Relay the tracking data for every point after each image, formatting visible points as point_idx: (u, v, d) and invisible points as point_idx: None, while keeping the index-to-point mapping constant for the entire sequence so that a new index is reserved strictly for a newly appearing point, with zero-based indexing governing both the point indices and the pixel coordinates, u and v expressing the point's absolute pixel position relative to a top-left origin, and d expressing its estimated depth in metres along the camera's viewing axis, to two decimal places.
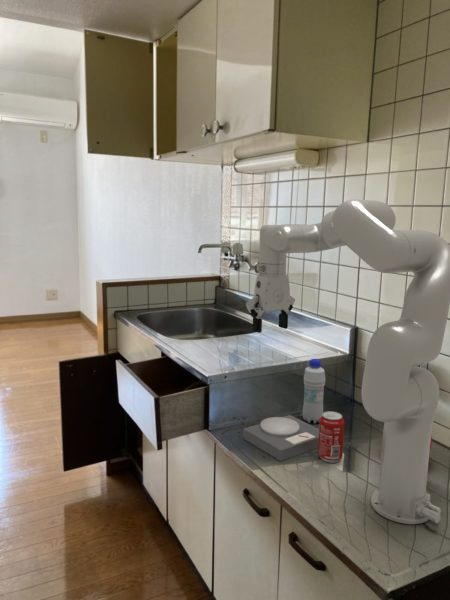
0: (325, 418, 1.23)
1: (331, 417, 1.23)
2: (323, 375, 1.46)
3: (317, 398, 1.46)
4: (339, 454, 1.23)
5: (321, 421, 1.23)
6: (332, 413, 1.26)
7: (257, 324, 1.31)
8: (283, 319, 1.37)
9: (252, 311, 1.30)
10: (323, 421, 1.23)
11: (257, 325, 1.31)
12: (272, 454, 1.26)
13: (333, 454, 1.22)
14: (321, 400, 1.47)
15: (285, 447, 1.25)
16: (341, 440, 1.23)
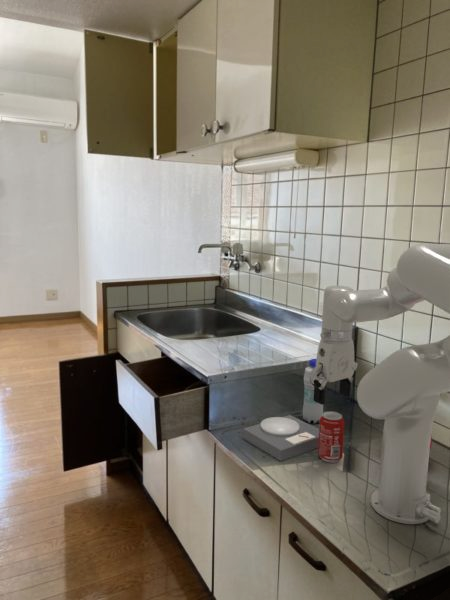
0: (325, 418, 1.23)
1: (331, 417, 1.23)
2: None
3: None
4: (339, 454, 1.23)
5: (321, 421, 1.23)
6: (332, 413, 1.26)
7: (320, 395, 1.20)
8: (345, 386, 1.26)
9: (315, 382, 1.18)
10: (323, 421, 1.23)
11: (320, 396, 1.20)
12: (272, 454, 1.26)
13: (333, 454, 1.22)
14: None
15: (285, 447, 1.25)
16: (341, 440, 1.23)
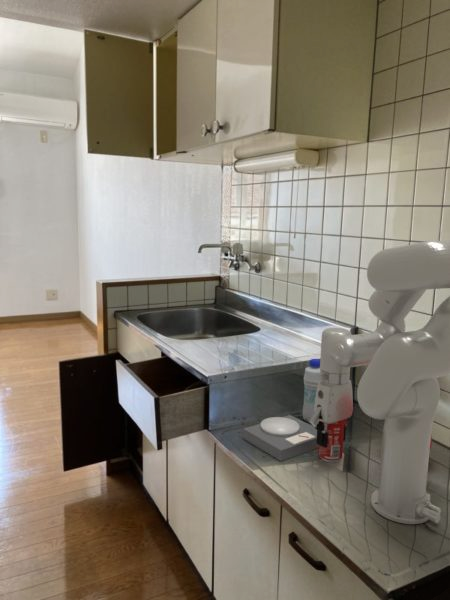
0: None
1: None
2: None
3: None
4: (339, 454, 1.23)
5: None
6: None
7: (322, 439, 1.22)
8: None
9: (318, 426, 1.20)
10: None
11: (322, 440, 1.22)
12: (272, 454, 1.26)
13: (333, 454, 1.22)
14: None
15: (285, 447, 1.25)
16: (341, 440, 1.23)
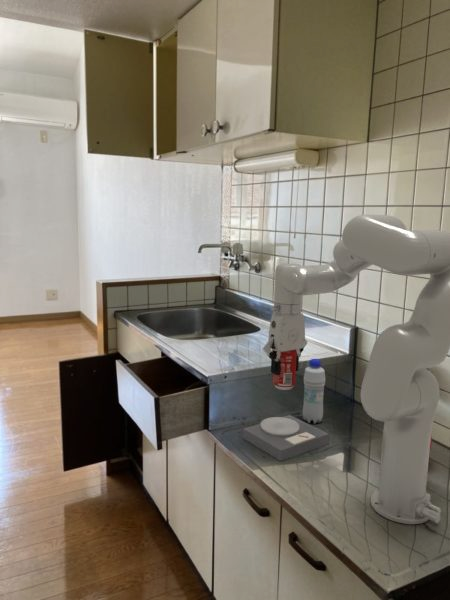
0: None
1: None
2: (323, 375, 1.46)
3: (317, 398, 1.46)
4: (291, 381, 1.31)
5: (275, 351, 1.32)
6: None
7: (276, 367, 1.30)
8: None
9: (271, 354, 1.29)
10: None
11: (276, 368, 1.30)
12: (272, 454, 1.26)
13: (286, 381, 1.31)
14: (321, 400, 1.47)
15: (285, 447, 1.25)
16: (293, 368, 1.31)
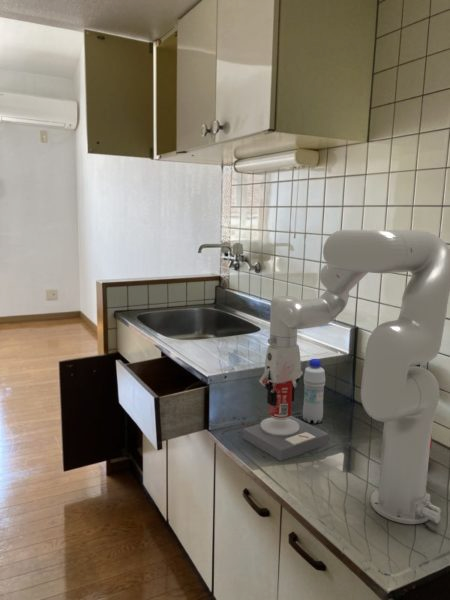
0: None
1: None
2: (323, 375, 1.46)
3: (317, 398, 1.46)
4: (287, 412, 1.33)
5: (271, 382, 1.34)
6: None
7: (272, 398, 1.32)
8: None
9: (267, 386, 1.31)
10: None
11: (272, 399, 1.32)
12: (272, 454, 1.26)
13: (282, 412, 1.33)
14: (321, 400, 1.47)
15: (285, 447, 1.25)
16: (289, 399, 1.33)
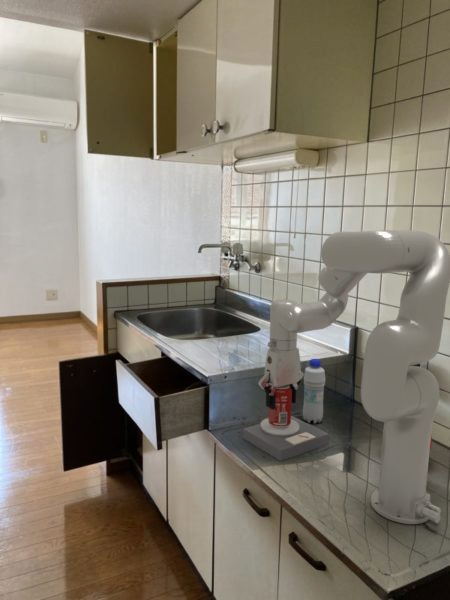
0: None
1: None
2: (323, 375, 1.46)
3: (317, 398, 1.46)
4: (286, 420, 1.33)
5: None
6: None
7: (270, 401, 1.32)
8: None
9: (266, 389, 1.30)
10: None
11: (270, 402, 1.32)
12: (272, 454, 1.26)
13: (281, 420, 1.33)
14: (321, 400, 1.47)
15: (285, 447, 1.25)
16: (288, 408, 1.33)
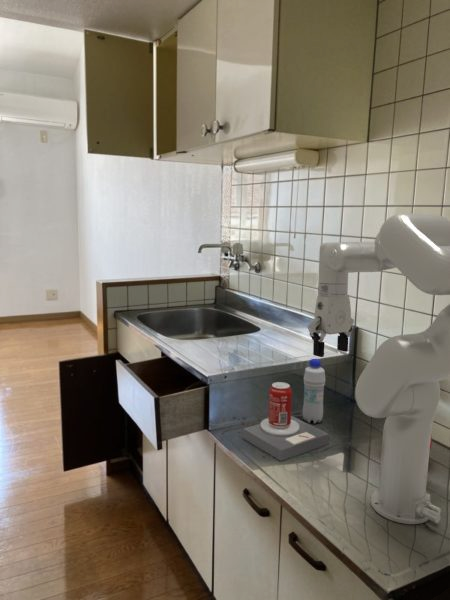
0: (274, 387, 1.33)
1: (279, 386, 1.33)
2: (323, 375, 1.46)
3: (317, 398, 1.46)
4: (286, 420, 1.33)
5: (270, 390, 1.34)
6: (281, 383, 1.36)
7: (319, 348, 1.23)
8: (343, 342, 1.30)
9: (315, 334, 1.22)
10: (272, 390, 1.33)
11: (319, 349, 1.23)
12: (272, 454, 1.26)
13: (281, 420, 1.33)
14: (321, 400, 1.47)
15: (285, 447, 1.25)
16: (288, 408, 1.33)
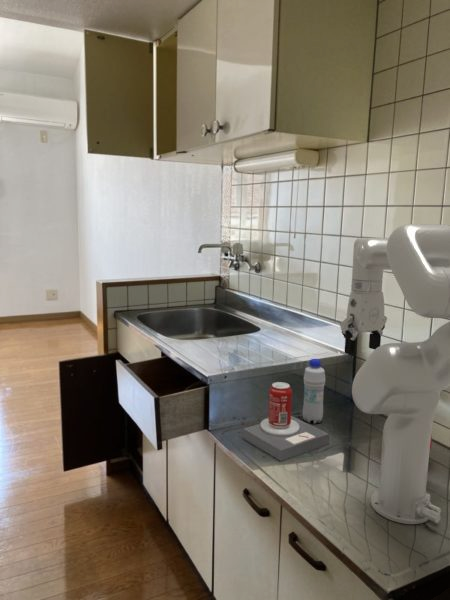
0: (274, 387, 1.33)
1: (279, 386, 1.33)
2: (323, 375, 1.46)
3: (317, 398, 1.46)
4: (286, 420, 1.33)
5: (270, 390, 1.34)
6: (281, 383, 1.36)
7: (351, 346, 1.20)
8: (375, 340, 1.26)
9: (347, 332, 1.19)
10: (272, 390, 1.33)
11: (351, 347, 1.20)
12: (272, 454, 1.26)
13: (281, 420, 1.33)
14: (321, 400, 1.47)
15: (285, 447, 1.25)
16: (288, 408, 1.33)
